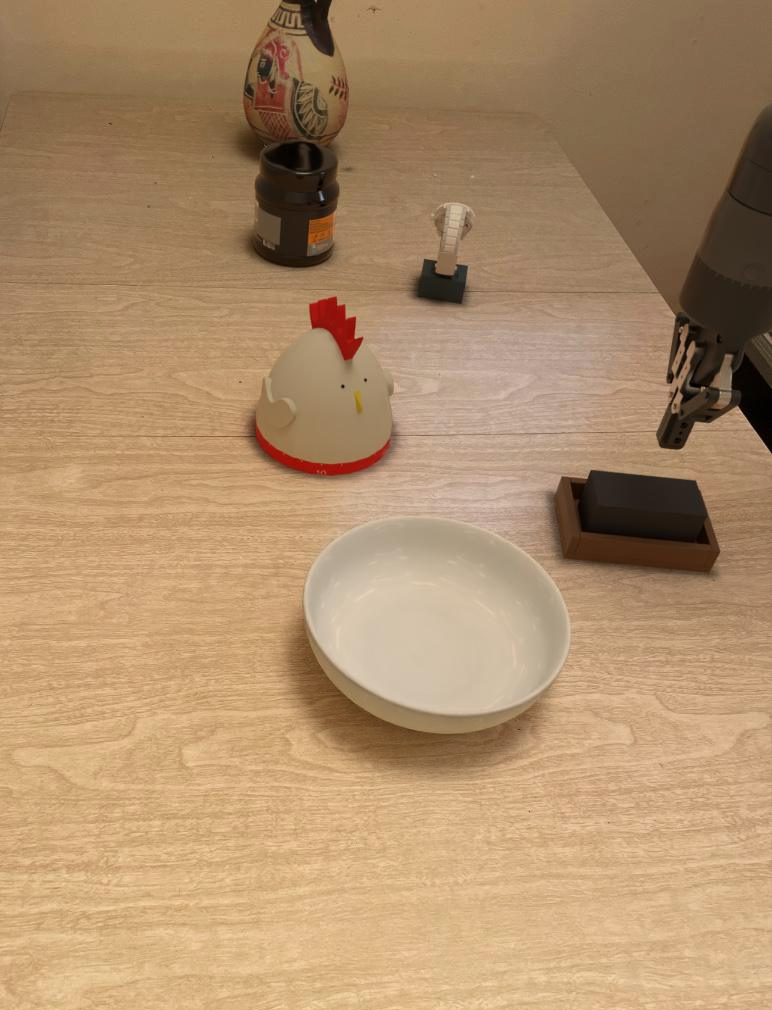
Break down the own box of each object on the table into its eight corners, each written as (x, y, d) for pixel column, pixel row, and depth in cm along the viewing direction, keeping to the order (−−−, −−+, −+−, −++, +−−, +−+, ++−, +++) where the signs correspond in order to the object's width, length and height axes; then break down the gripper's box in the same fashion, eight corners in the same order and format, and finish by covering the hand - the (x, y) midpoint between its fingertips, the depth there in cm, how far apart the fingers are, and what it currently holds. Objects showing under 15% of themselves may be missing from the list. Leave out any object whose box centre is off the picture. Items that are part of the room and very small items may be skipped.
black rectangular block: (679, 515, 93) (696, 480, 90) (689, 551, 90) (708, 515, 86) (577, 505, 93) (590, 469, 89) (583, 541, 89) (598, 504, 86)
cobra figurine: (464, 281, 123) (481, 196, 115) (460, 313, 117) (478, 226, 109) (420, 274, 123) (435, 189, 115) (414, 305, 118) (429, 218, 110)
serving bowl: (493, 815, 70) (515, 762, 65) (248, 690, 76) (251, 632, 70) (584, 633, 83) (608, 577, 78) (369, 538, 89) (378, 481, 84)
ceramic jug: (219, 149, 144) (221, -92, 122) (288, 124, 152) (300, -106, 131) (305, 188, 137) (323, -59, 115) (371, 160, 146) (400, -76, 124)
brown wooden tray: (689, 513, 95) (700, 489, 93) (708, 574, 89) (721, 551, 87) (553, 499, 95) (561, 475, 92) (563, 560, 89) (572, 536, 87)
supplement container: (350, 253, 125) (360, 160, 116) (293, 279, 119) (300, 183, 111) (292, 223, 130) (298, 131, 121) (235, 246, 124) (237, 151, 115)
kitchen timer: (297, 492, 92) (308, 357, 81) (231, 413, 100) (234, 280, 89) (415, 453, 98) (441, 322, 87) (345, 381, 105) (360, 252, 94)
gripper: (826, 309, 67) (728, 498, 79) (775, 221, 76) (694, 403, 88) (720, 297, 67) (638, 488, 79) (682, 211, 76) (614, 395, 88)
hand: (668, 443), depth 84 cm, fingers closed
